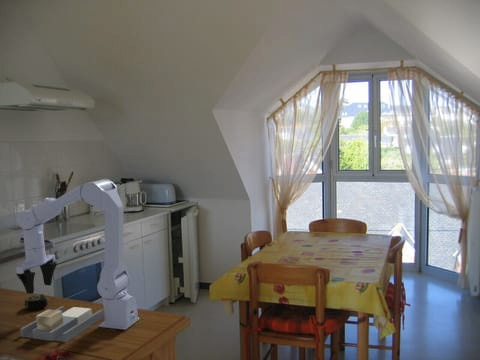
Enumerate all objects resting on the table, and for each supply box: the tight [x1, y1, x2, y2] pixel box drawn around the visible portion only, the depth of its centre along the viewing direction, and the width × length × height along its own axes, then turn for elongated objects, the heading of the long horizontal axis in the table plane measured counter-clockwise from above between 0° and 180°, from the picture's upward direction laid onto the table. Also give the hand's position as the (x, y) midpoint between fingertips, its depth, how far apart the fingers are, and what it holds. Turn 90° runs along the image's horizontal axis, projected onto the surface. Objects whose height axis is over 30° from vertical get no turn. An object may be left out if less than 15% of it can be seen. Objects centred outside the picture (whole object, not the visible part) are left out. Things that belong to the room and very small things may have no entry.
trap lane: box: [19, 305, 105, 343], centre depth 144 cm, size 16×18×2 cm
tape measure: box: [24, 293, 48, 311], centre depth 162 cm, size 7×7×4 cm
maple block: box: [35, 308, 63, 331], centre depth 138 cm, size 5×5×4 cm
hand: (39, 289), depth 150 cm, fingers open, 7 cm apart
